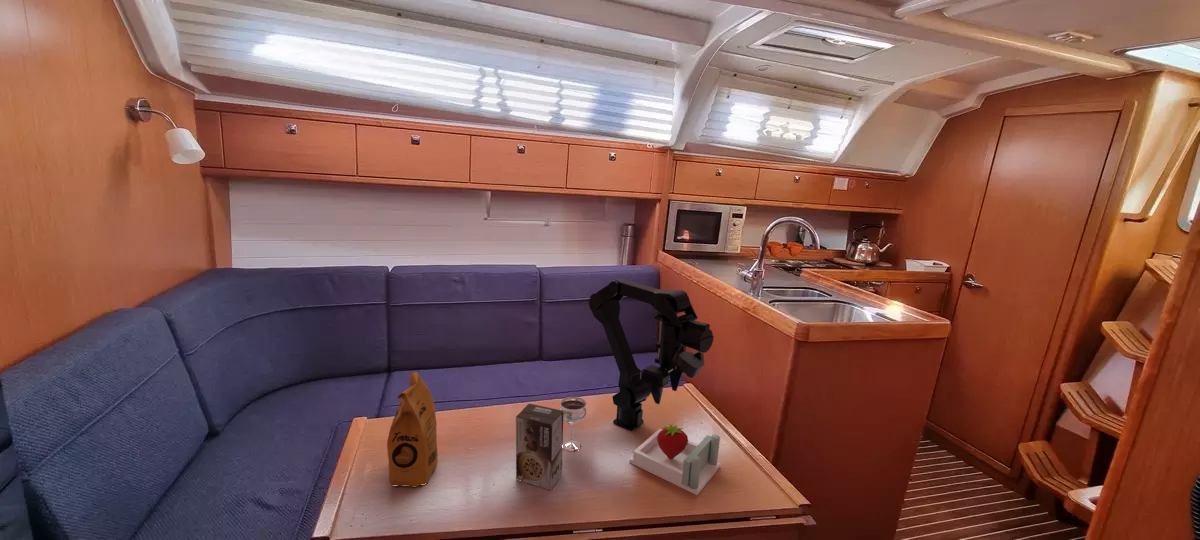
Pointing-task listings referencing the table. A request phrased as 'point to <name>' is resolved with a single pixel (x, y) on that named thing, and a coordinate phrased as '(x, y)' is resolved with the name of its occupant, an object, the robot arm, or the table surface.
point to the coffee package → (413, 436)
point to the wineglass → (573, 415)
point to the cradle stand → (680, 462)
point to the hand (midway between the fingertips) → (666, 396)
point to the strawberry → (672, 441)
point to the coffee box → (539, 445)
